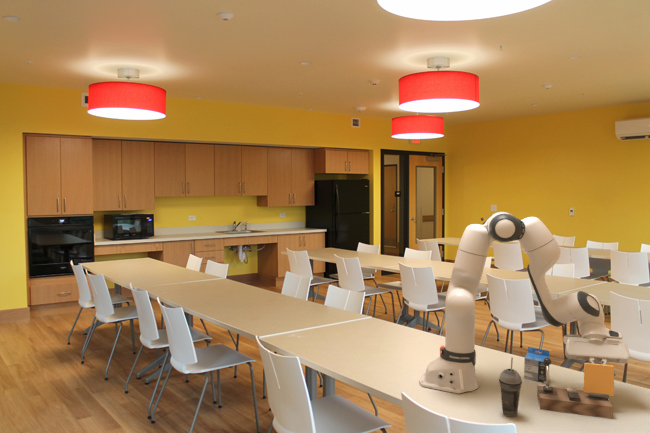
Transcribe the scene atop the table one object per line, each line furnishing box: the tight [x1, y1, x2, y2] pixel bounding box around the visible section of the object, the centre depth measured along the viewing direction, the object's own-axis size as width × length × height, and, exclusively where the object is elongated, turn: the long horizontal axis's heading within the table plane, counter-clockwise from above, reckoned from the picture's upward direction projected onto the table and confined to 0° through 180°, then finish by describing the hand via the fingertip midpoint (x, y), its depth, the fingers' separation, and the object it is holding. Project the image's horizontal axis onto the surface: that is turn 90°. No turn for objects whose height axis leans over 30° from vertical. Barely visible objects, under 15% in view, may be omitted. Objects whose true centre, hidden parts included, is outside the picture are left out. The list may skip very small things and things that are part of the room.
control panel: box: [536, 385, 613, 419], centre depth 173 cm, size 22×12×5 cm, turn 71°
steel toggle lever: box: [542, 358, 553, 392], centre depth 177 cm, size 3×3×12 cm
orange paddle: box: [583, 362, 615, 400], centre depth 170 cm, size 9×2×11 cm, turn 71°
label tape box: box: [523, 346, 551, 384], centre depth 199 cm, size 9×4×12 cm, turn 46°
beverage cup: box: [498, 356, 523, 419], centre depth 166 cm, size 7×7×20 cm
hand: (599, 371), depth 171 cm, fingers closed, pressing on orange paddle
